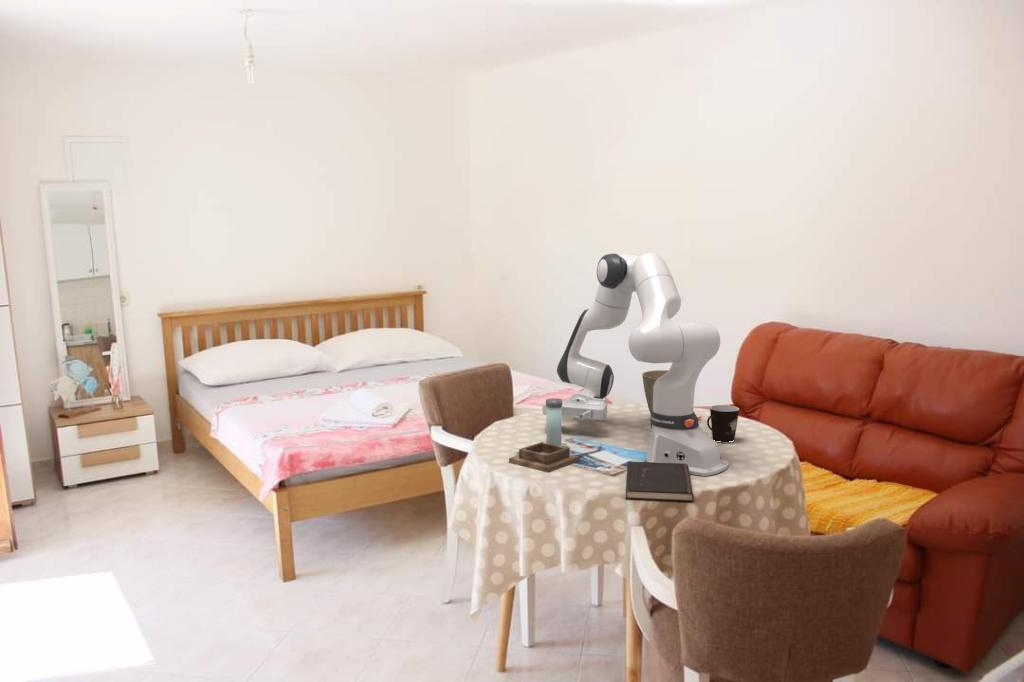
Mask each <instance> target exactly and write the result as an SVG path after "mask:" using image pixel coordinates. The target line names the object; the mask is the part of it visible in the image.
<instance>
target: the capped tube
mask: <svg viewBox="0 0 1024 682" xmlns="http://www.w3.org/2000/svg"><path fill="white" fill-rule="evenodd" d="M562 401H563V399H561V398H557V397H555V398H553V397H552V398H546V399H545V402H546V406H547V415H545V417H546V421H545V422H546V425H545V426H546V432H545V433H546V434H545V435H546V442H545V443H549V444H553V445H558V446H562V422H563V421H562V419H563V418H562Z"/></svg>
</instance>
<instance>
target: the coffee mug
mask: <svg viewBox="0 0 1024 682" xmlns="http://www.w3.org/2000/svg"><path fill="white" fill-rule="evenodd" d="M709 412H710V415H709V416H708V417H707V420H706V425H707V427H708V428H709V430H710V431H711V436H712V437H711V438H712V439H713V440H715V441H721V442H729V441H733V440H734V441H735V438H736V433H737V431H736V430H737V426H738V419H739V413H740V408H739V407H737V406H734V405H729V404H728V405H727V404H717V405H716V404H715V405H710V406H709Z"/></svg>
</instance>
